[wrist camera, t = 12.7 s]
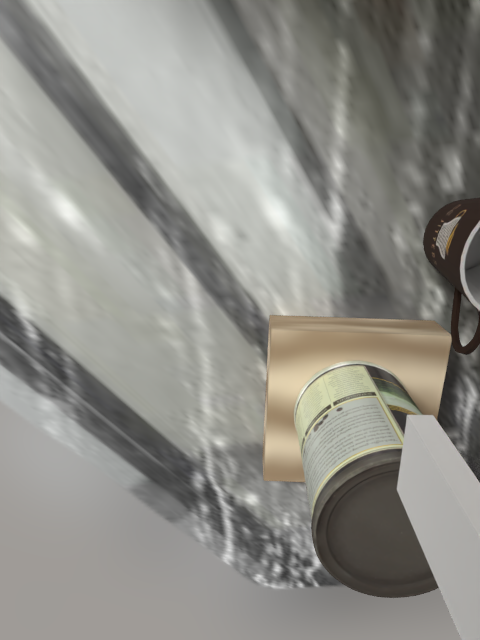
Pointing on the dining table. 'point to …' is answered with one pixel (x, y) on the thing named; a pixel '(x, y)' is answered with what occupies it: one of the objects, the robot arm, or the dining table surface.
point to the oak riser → (334, 347)
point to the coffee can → (360, 479)
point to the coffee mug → (457, 257)
